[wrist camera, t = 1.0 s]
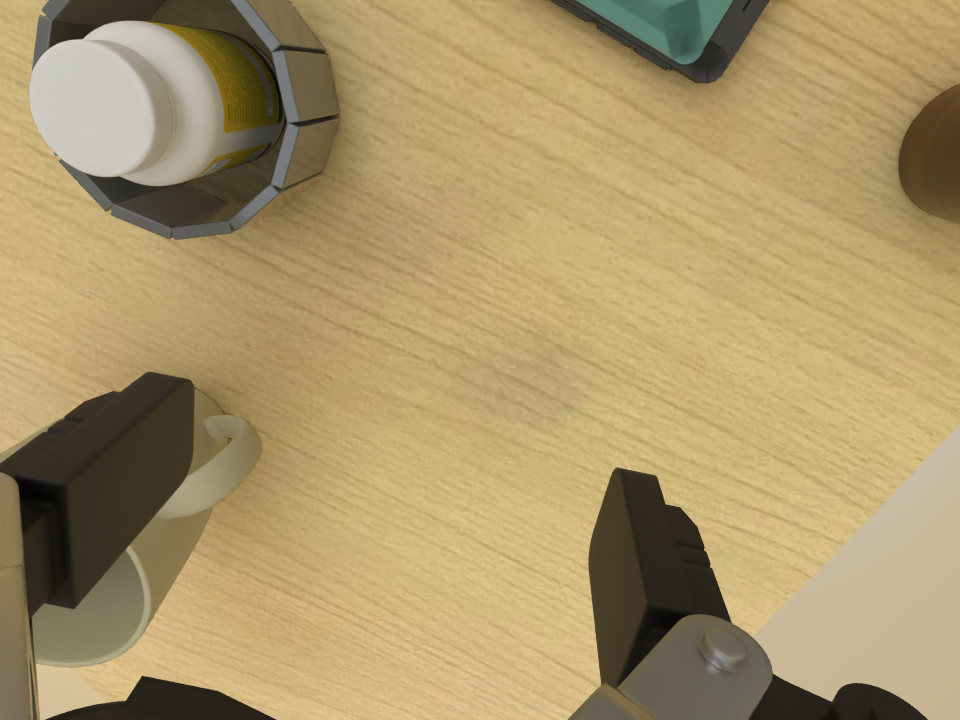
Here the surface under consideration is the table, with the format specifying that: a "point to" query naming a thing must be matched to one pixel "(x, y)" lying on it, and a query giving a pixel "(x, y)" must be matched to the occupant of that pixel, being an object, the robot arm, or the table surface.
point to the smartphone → (675, 30)
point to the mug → (149, 548)
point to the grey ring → (306, 100)
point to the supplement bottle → (156, 102)
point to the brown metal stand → (934, 157)
